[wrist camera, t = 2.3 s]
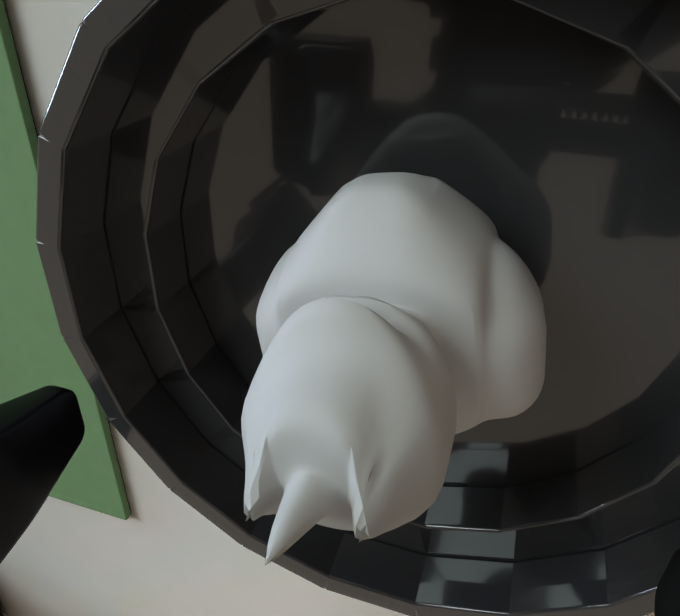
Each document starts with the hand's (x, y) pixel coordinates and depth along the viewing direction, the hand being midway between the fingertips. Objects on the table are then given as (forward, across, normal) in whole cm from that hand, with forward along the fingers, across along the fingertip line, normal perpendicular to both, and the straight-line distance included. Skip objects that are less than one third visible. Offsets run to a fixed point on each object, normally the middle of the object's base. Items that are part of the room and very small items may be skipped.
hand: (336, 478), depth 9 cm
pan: (+6, 0, 0) cm, 6 cm away
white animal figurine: (+6, 0, 0) cm, 6 cm away
